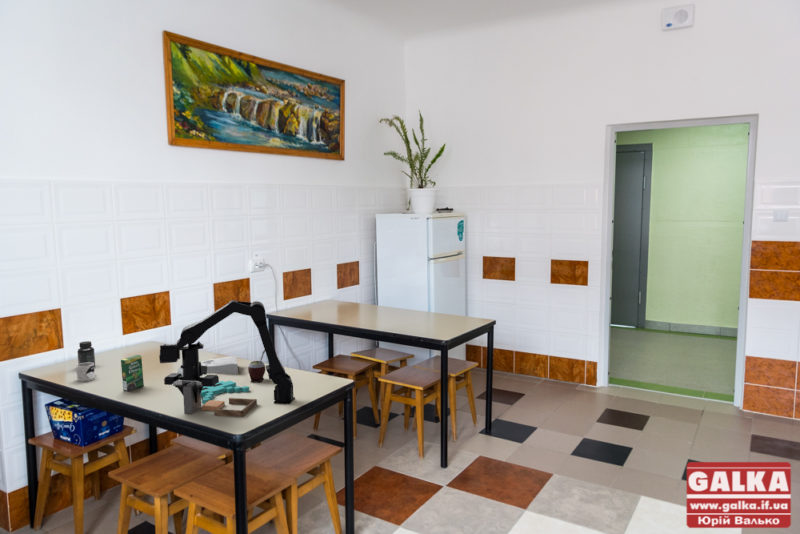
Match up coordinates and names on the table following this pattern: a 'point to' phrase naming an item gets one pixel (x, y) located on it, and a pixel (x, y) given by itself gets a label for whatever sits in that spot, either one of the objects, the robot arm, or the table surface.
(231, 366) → the ramp
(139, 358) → the coffee box
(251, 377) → the mate gourd
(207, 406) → the terracotta tile
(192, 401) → the grey matte slab
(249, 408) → the walnut bay
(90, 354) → the supplement bottle
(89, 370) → the mug
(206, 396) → the alien figure
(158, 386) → the table surface
